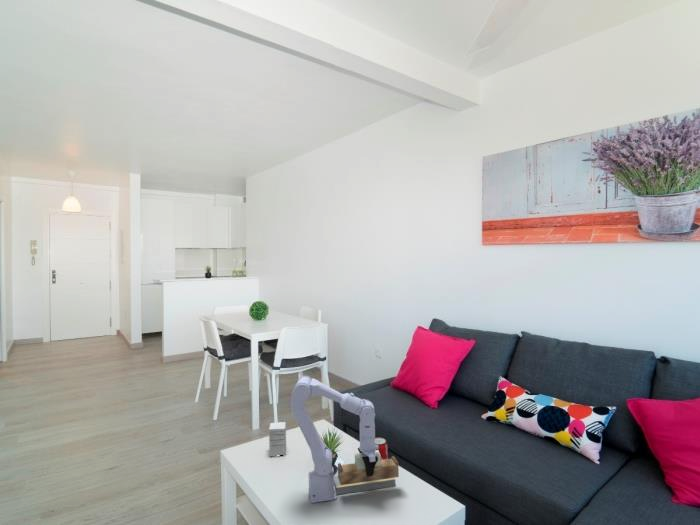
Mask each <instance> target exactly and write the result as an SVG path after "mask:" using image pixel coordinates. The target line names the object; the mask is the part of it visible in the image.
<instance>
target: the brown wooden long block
mask: <svg viewBox="0 0 700 525" xmlns="http://www.w3.org/2000/svg"><path fill="white" fill-rule="evenodd" d="M337 476H338V479H339V482H340V485H345V484H352V483H359V482H366V481H373V480H381V479H388V478H395V479H396V478H399V477H400V476H399V461H398V460H397V458H396V457H395V455H393V456H391V458H388V459H384V460H381V466H377V467H375V468H374V473H373V476H369V477H367V474H366V469H361V470H357V468H356V466H355V462H354V463H348V464H346V463H345V464H342V463H341V462H338V463H337Z"/></svg>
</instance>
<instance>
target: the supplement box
mask: <svg viewBox="0 0 700 525" xmlns="http://www.w3.org/2000/svg"><path fill="white" fill-rule="evenodd" d="M268 433H269V434H268V435H269V436H268V441H269V442H268V444H269V446H268V447H269V448H268V449H269V457H270V456H277V455H286V456H287V423H286V421H281V422H280V421H279V422H271V423H269V428H268Z"/></svg>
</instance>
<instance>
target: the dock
mask: <svg viewBox="0 0 700 525" xmlns="http://www.w3.org/2000/svg"><path fill="white" fill-rule="evenodd" d="M391 487H396V477H395V478H388V479H381V480H373V481H366V482H359V483H352V484H345V485H340V482H339V479H338V475H335V476H334V490H335V494H336V496H338V495H343V494H349V493H351V494H352V493H357V492H363V491H371V490H377V489H385V488H386V489H387V488H391Z"/></svg>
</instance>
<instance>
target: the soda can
mask: <svg viewBox="0 0 700 525" xmlns="http://www.w3.org/2000/svg"><path fill="white" fill-rule="evenodd" d="M375 445H378V449H376V450H378V451H379V453H380V455H381V460H384V459H389V457H388V456H389V455H388V454H389V452H388V449H389V448H388V443H387V440H386V439H385V438H383V437H375Z"/></svg>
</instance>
